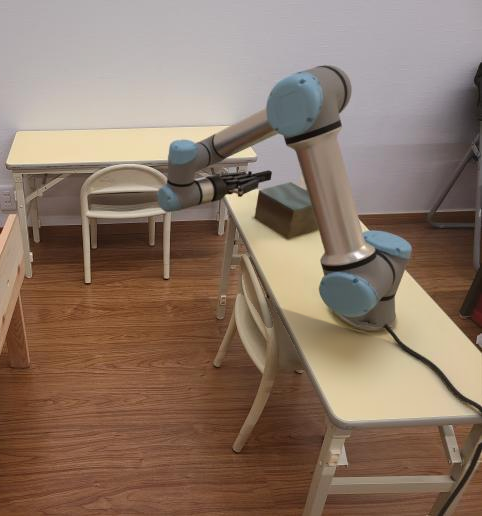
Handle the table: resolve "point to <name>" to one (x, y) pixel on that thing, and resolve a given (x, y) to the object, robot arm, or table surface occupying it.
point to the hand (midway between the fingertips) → (269, 175)
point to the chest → (284, 218)
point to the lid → (288, 196)
